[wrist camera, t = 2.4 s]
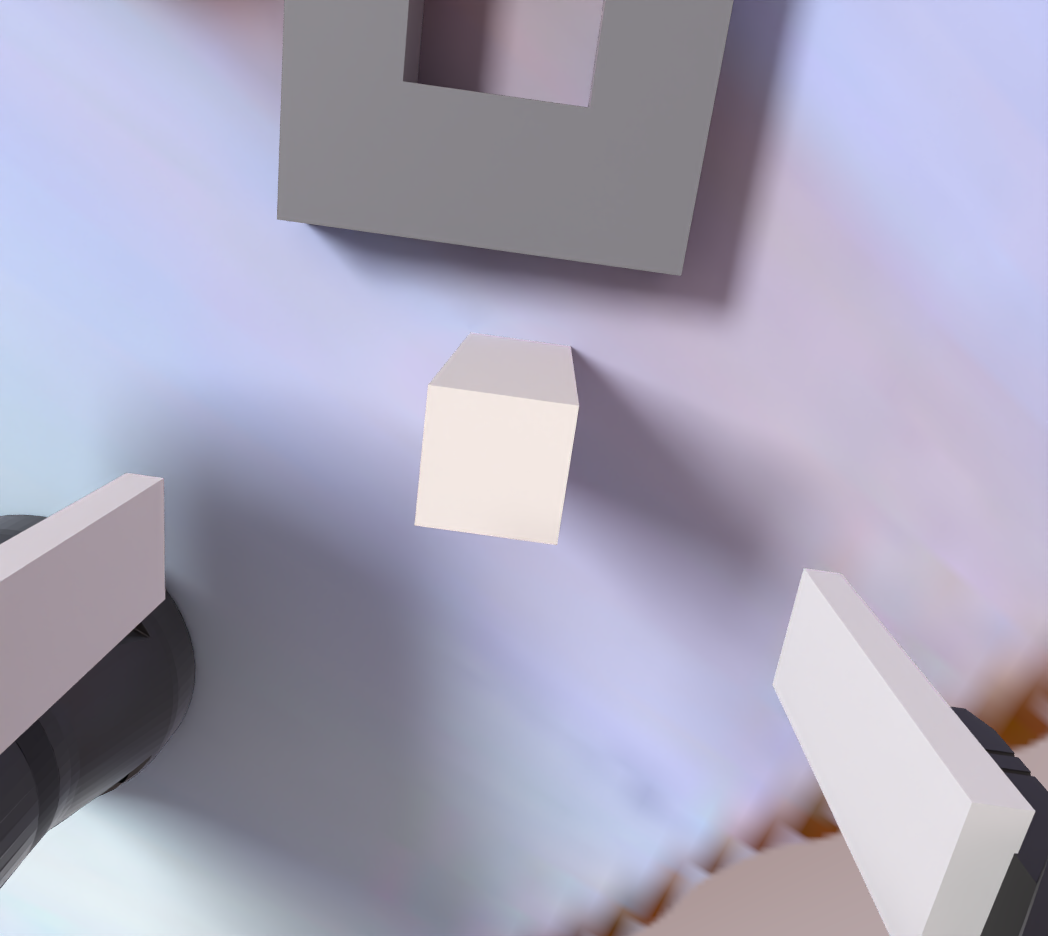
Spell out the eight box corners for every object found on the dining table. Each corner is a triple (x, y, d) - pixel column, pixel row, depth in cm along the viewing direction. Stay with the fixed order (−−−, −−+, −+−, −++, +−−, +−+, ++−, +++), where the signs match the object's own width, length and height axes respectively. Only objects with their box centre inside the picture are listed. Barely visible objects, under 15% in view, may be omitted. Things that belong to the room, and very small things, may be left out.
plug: (555, 442, 35) (557, 544, 24) (459, 429, 35) (414, 525, 24) (570, 346, 34) (579, 406, 23) (470, 332, 34) (428, 384, 23)
